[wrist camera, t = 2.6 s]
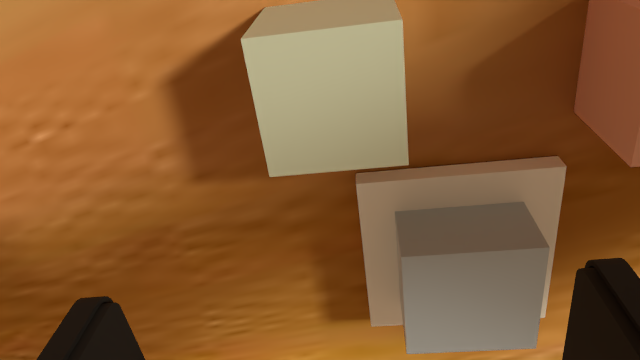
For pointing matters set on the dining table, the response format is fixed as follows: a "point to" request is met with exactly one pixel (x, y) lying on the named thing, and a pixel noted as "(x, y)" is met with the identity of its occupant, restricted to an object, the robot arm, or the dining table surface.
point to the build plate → (447, 193)
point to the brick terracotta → (612, 76)
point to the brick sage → (329, 85)
